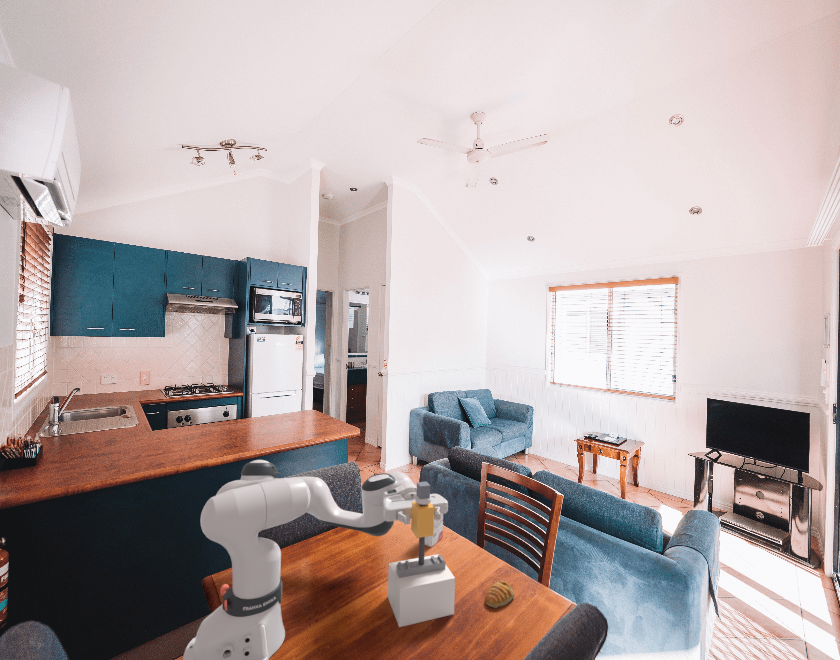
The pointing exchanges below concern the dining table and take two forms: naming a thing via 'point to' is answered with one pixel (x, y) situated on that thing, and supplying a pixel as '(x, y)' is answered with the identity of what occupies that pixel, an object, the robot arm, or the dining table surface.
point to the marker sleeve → (422, 520)
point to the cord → (422, 499)
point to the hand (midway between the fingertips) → (423, 519)
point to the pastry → (499, 594)
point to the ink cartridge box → (435, 532)
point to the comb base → (420, 590)
